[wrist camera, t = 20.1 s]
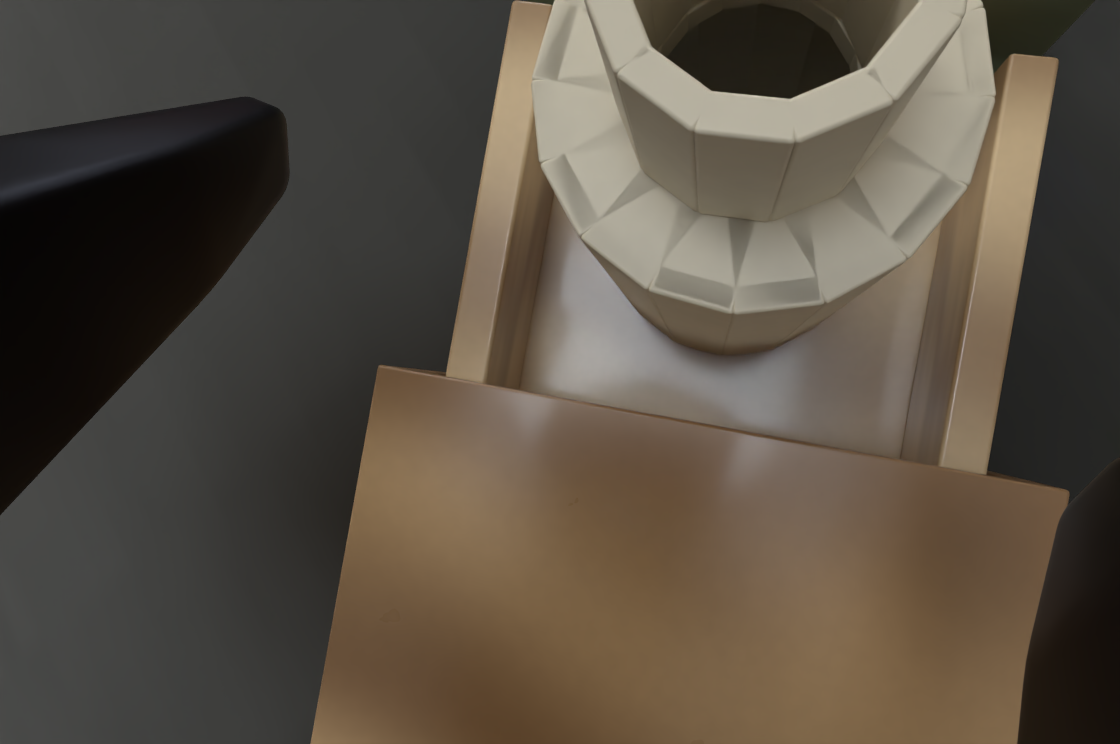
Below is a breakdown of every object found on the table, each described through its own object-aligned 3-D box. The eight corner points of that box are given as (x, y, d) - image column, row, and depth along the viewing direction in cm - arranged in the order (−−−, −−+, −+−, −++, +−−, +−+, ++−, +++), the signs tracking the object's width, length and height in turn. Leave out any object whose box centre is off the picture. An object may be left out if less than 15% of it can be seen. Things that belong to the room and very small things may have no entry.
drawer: (585, -224, 20) (556, -374, 17) (1065, -195, 19) (1160, -353, 15) (455, 505, 20) (394, 529, 16) (925, 602, 19) (983, 656, 15)
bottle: (751, 403, 18) (826, 404, 7) (568, 258, 19) (343, 27, 7) (905, 214, 18) (1279, -140, 6) (714, 74, 19) (724, -483, 7)
